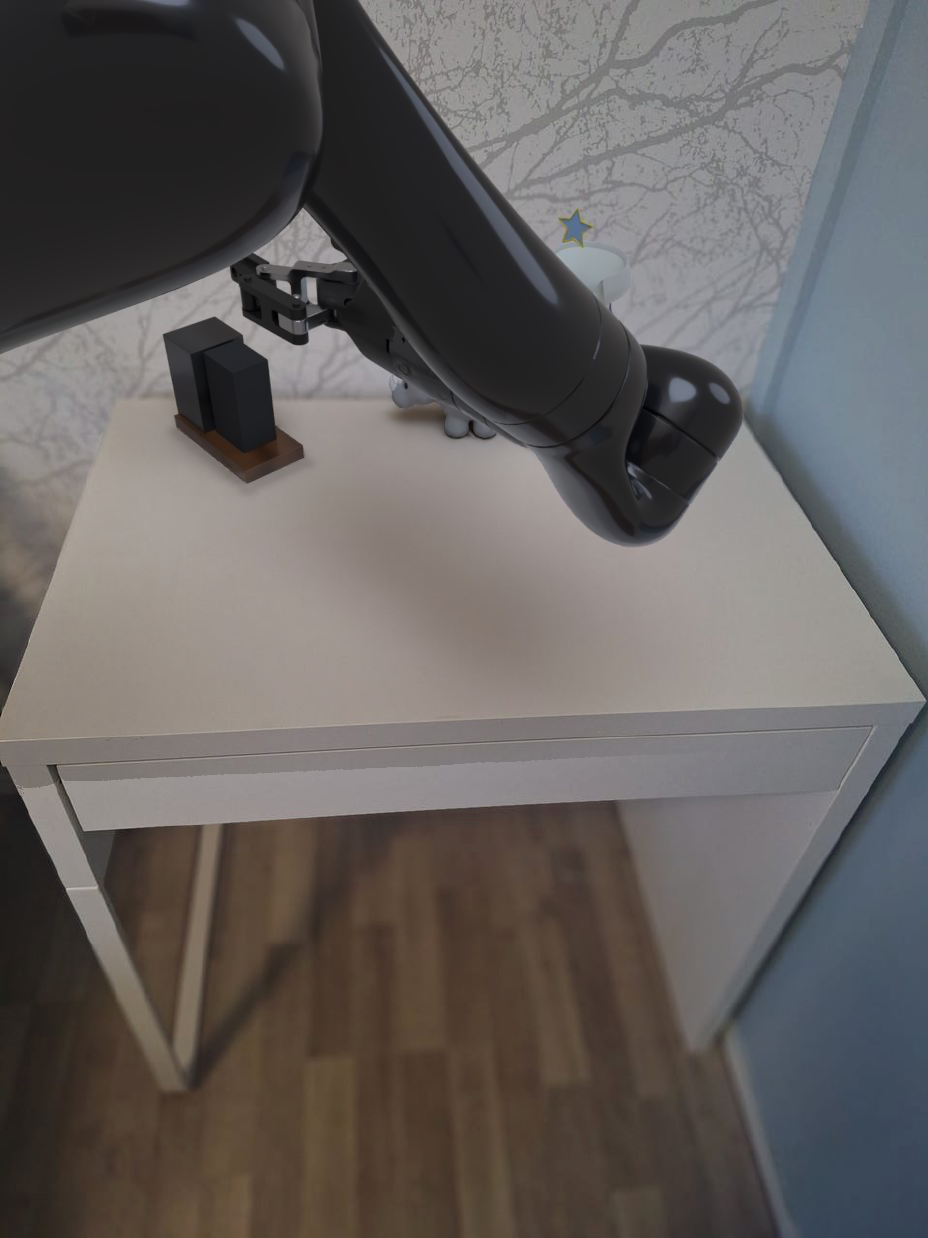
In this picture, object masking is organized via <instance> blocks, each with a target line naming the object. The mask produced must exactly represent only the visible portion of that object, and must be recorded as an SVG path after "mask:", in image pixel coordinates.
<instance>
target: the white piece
mask: <svg viewBox="0 0 928 1238" xmlns="http://www.w3.org/2000/svg"><path fill="white" fill-rule="evenodd" d="M557 219H558V221H559V222H560V224H561V225H562V226H563V228H564V229H565V232H564V234H563V237H562V241H561V243H560V244H558V245H556V246H555V248H553V249H552V251H553V252H554V253H555V254H556V255H557V256H558V257H559V258H560V259H561V261H562V262H563V263H564V264H565V265H566V266H567V267H568V268H569V269H570V270H571V271H572V272H573V273H574V274H575V275H576V276H577V277H578V278H579V279H580V280H581V281H582V282H583V283H584V284H585V285H586V286H587V287H588V288H589V290H590V291H591V292H592V293H593V294H594V295H595V296H596V297H597V298H598V299H599V300H600V301H601V302H602V303H603V304H604V305H605V306H606V307H607V308H608V309H609V310H610V311H611V312H612V313H613V310H612V303H614V302H616V301H617V300H619V299H621V298H622V297H624V296H625V295H626V294H627V293H628V292H629V290H630V289H631V286H632V284H633V272H632V268H631V265H630V262H629V258H628V256H627V254H626V253H625V252H624V250H622V249H620V248H619V247H617V246H614V245H611V244H609V243H606V242H601V241H595V240H584V234H585V233H587V232H588V231H589V230H592V229H593V228H594V227H595V226H594V225H593V224H592V223H591V224H590V223H588V222H586V221H584V220H582V216H581V212H580V207H577V208H576V209H575V211H574V212H573V213H572V215H571V216H570V217H564V216H562V217H561V216H560V217H558V218H557Z"/></svg>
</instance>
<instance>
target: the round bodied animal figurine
mask: <svg viewBox="0 0 928 1238" xmlns="http://www.w3.org/2000/svg"><path fill="white" fill-rule="evenodd" d="M388 387H389V389H390V391H391V398H392V399H391V400H392V401H393V403H394V405H396V406H397V407H398V408H400V409H403V410H407V409H411V408H412V407H414V406H415V405H417V406H418V405H420V406H429V405H430V404H433V403H437V404H439V406H440V407H441V409H442V410H443V411H444V414H445V416H446V417H445V420H444V432H445V433H446V434H447V435H448V436H450V437H452V438H462V437H464V436H466V435H467V434H468V432H469V429H470V424H469V423H472V430H473V432H474V435H476V436H477V437H479V438H484V439H486V438H490V437H493V436H494V435H496V433H495V432H494V431H492V430H490V429H489V428H487V427H486V426H484V425H482V424H481V423H479V422H477V421H476V420H474V419H472V418H471V417H469V416H468V415H466V414H464V413H463V412H461V411H459V410H457V409H455V408H452V407H450V406H447V405H445V404H442V403H440V402H438V401H436V400H434V399H432V398H431V397H429V396H427V395H426V394H424V393H422V392H421V391H419V390H418V389H416V388H414V387H413V386H411V385H409V384H408V383H406V382H405V381H403V380H401V379H397V382H396V381H395V379H394V375H393V374H391V376H390V378H389V380H388Z"/></svg>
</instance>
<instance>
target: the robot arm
mask: <svg viewBox="0 0 928 1238" xmlns="http://www.w3.org/2000/svg"><path fill="white" fill-rule="evenodd" d="M302 210H305V211H306V212H307V214H309V216H310V217H311V218H312V219H313V220H314V221H315V222H316V223H317V224H318V226H319V227H320V228H321V229H322V230H323V231H324V232H325V234H327V236H328V237H329V238H330V239H329V240H330V245H331V246H332V248H333V249H334V250H336V251H338V252H340V253H342V254H343V255H344V256H345V259H344V260H342V261H337V262H334V263H326V262H325V263H323V262H315V261H308V260H296V261H295V262H294V263H293V265H292V266H289V265H287V266H286V265H279V264H272V263H271V264H270V261H269V260H266V259H265V258H263V257H261V256H259V255H258V254H256V253H255V252H257V251H258V250H259V249H261V248H263V247H265V246H266V245H268V244H269V243H270V242H271V241H272V240H273V239H275V237H277V236H278V235H279V234H281V233H282V232H283V231H284V230H285V229H286V228H287V227H288V226H289V225H290V224H291V223H292V222H293V221H294V220H295V218H296V217H298V214H299V213H300V212H301V211H302ZM526 221H527V220H525V219H524V218H523V217H522V216H521V215H520V213H518V211H517V210H516V209H515V207H514V206H513V205H512V204H511V203H510V201H509V200H508V199H507V198H506V197H505V196H504V194H503V193H502V192H501V191H500V190H499V188H498V187H497V186H496V185H495V183H494V182H493V181H492V180H491V179H490V178H489V176H488V175H487V174H486V173H485V171H484V170H483V169H482V167H480V165H479V164H478V163H477V162H476V161H475V160H474V158H473V157H472V156H471V154H470V153H469V151H468V150H467V149H466V147H464V145H463V144H462V142H461V141H460V140H459V139H458V138H457V136H456V135H455V134H454V132H453V131H452V129H451V128H450V127H449V126H448V124H447V122H446V121H445V120H444V119H443V118H442V116H441V115H440V114H439V112H438V110H437V109H436V108H435V107H434V106H433V104H432V103H431V102H430V100H429V99H428V97H427V96H426V95H425V94H424V92H423V90H422V89H421V88H420V87H419V86H418V84H417V83H416V81H415V80H414V78H413V77H412V76H411V74H410V73H409V72H408V70H407V69H406V67H405V66H404V65H403V64H402V62H401V61H400V59H399V58H398V56H397V55H396V53H395V52H394V51H393V49H392V47H391V46H390V45H389V43H388V41H387V40H386V39H385V37H384V36H383V35H382V34H381V32H380V31H379V29H378V27H376V25H375V23H374V22H373V21H372V18H371V17H370V16H369V14H368V13H367V11H366V9H365V8H364V7H363V5H362V4H361V2H360V0H0V355H2V354H5V353H7V352H10V351H13V350H14V349H17V348H20V347H22V346H25V345H28V344H31V343H34V342H36V341H39V340H42V339H44V338H47V337H49V336H52V335H55V334H58V333H61V332H64V331H67V330H69V329H72V328H75V327H77V326H81V325H83V324H86V323H88V322H91V321H94V320H97V319H100V318H102V317H106V316H108V315H112V314H114V313H117V312H119V311H122V310H125V309H128V308H130V307H134V306H137V305H139V304H142V303H145V302H146V301H149V300H152V299H155V298H157V297H160V296H164V295H165V294H169V293H172V292H174V291H176V290H179V289H181V288H184V287H186V286H189V285H191V284H193V283H195V282H198V281H200V280H202V279H205V278H207V277H210V276H212V275H214V274H216V273H219V272H221V271H223V270H226V269H227V268H229V272H230V278H231V280H232V281H233V282H234V283H236V284H238V287H239V293H240V300H241V312H242V317H243V318H245V319H246V320H249V321H251V322H253V323H254V324H256V325H258V326H259V327H261V328H263V329H265V330H267V331H268V332H270V333H272V334H274V335H275V336H277V337H279V338H280V339H282V340H284V341H286V342H288V343H289V344H291V345H293V346H300V347H301V346H305V345H307V344H308V343H309V341H310V337H309V336H310V335H309V332H310V331H311V330H313V329H315V328H318V327H321V326H323V325H324V326H325V327H327V328H330V329H334V330H339V331H342V332H344V333H346V334H347V335H348V336H349V338H350V339H351V341H352V342H353V344H354V345H355V347H356V348H357V350H358V351H359V352H360V353H361V354H362V356H364V357H365V358H366V359H367V360H368V361H371V362H372V363H374V364H375V365H377V366H379V367H380V368H381V369H383V370H385V371H386V372H388V373H390V374H391V375H393V376H395V377H397V378H398V379H399V380H400V381H405V382H406V383H408V384H409V385H411V386H413V387H414V388H416V389H418V390H419V391H421V392H422V393H424V394H426V395H427V396H429V397H431V398H432V399H434V400H436V401H438V402H440V403H442V404H445V405H447V406H450V407H452V408H455V409H457V410H459V411H461V412H463V413H464V414H466V415H468V416H469V417H471V418H472V419H474V420H476V421H477V422H479V423H481V424H482V425H484V426H486V427H487V428H489V429H490V430H492V431H494V432H495V434H497V435H498V436H500V437H502V438H504V439H505V440H507V441H508V442H511V443H512V444H514V445H516V446H519V447H522V448H525V449H529V450H530V451H531V452H532V453H533V455H534V456H535V457H536V459H537V460H538V461H539V462H540V464H541V465H542V467H543V468H544V470H545V472H546V474H547V476H548V478H549V479H550V481H551V483H552V485H553V486H554V488H555V490H556V492H557V493H558V495H559V496H560V498H561V499H562V501H563V502H564V504H565V505H566V506H567V507H568V509H569V510H570V512H571V513H572V514H573V515H574V516H575V518H576V519H577V520H578V521H579V522H580V523H581V524H582V525H583V526H584V527H586V528H587V529H588V530H589V531H590V532H592V533H593V534H594V535H596V536H598V537H600V539H602V540H604V541H607V542H608V543H611V544H614V545H616V546H620V547H625V548H642V547H647V546H651V545H654V544H656V543H659V542H660V541H663V540H664V539H665V538H666V537H668V536H669V535H670V534H671V533H672V532H673V531H674V529H676V527H677V526H678V524H679V523H680V522H681V520H682V519H683V517H685V514H686V513H687V512H688V510H689V508H690V505H692V504H693V502H694V501H695V499H697V497H698V495H699V493H700V492H701V491H702V489H703V487H704V486H705V484H706V483H707V481H708V480H709V478H710V477H711V475H712V473H713V472H714V471H715V469H716V467H717V466H718V464H719V462H721V460H722V459H723V457H724V456H725V454H726V453H727V451H728V450H729V448H730V447H731V445H732V444H733V442H734V441H735V440H736V438H737V436H738V434H739V432H740V430H741V428H742V425H743V422H744V418H745V417H744V416H745V413H744V404H743V400H742V397H741V394H740V392H739V390H738V388H737V386H736V385H735V384H734V382H733V381H732V379H731V378H730V376H728V375H727V374H726V372H725V371H723V370H722V369H721V368H720V367H718V366H717V365H716V364H714V363H712V362H711V361H709V360H707V359H705V358H703V357H701V356H698V355H696V354H693V353H690V352H687V351H683V350H680V349H675V348H670V347H665V346H658V345H653V344H643V343H639V341H638V340H637V338H636V337H635V335H634V334H633V333H632V332H631V331H630V330H629V328H628V327H627V326H625V325H624V323H623V322H622V321H621V320H620V319H619V318H617V316H616V315H615V314H614V313H613V311H612V312H611V311H610V310H609V309H608V308H607V307H606V306H605V305H604V304H603V303H602V302H601V301H600V300H599V299H598V298H597V297H596V296H595V295H594V294H593V293H592V292H591V291H590V290H589V288H588V287H587V286H586V285H585V284H584V283H583V282H582V281H581V280H580V279H579V278H578V277H577V276H576V275H575V274H574V273H573V272H572V271H571V270H570V269H569V268H568V267H567V266H566V265H565V264H564V263H563V262H562V261H561V259H560V258H559V257H558V256H557V255H556V254H555V253H554V252H553V249H551V247H549V246H548V244H547V243H546V242H545V241H544V240H543V239H542V238H541V237H540V236H539V235H538V234H537V233H536V231H535V230H534V229H533V228H532V227H531V226H530V225H529V224H528V222H526ZM307 278H310V279H315V289H316V303H317V304H316V303H312V301H310V299H309V296H308V284H307ZM277 281H279V282H286V283H288V284H289V285H290V293H288V292H286V291H284V290H283V289H280V288H279V287H278V284H277Z"/></svg>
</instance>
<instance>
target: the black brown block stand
mask: <svg viewBox="0 0 928 1238" xmlns="http://www.w3.org/2000/svg"><path fill="white" fill-rule="evenodd" d="M162 338H163V345H164V348H165V355H166V359H167V364H168V369H169V375H170V379H171V383H172V389H173V394H174V399H175V404H176V409H177V413H176V414H174V415H173V416H174V417H173V418H174V422H175V426H176V428H177V429H178V430H179V431H181V432H182V433H183V434H185V435H186V436H187V437H188V438H189V439H191V440H192V441H193V442H195V443H196V444H197V445H198V446H200V447H201V448H202V449H203V450H204V451H205V452H207V453H208V454H210V455H211V456H212V457H213V458H215V459H216V460H217V461H218V462H220V463H221V464H222V465H223V466H225V468H227V469H228V470H230V471H231V472H232V473H233V474H234V475H236V476H237V477H238V478H240V479H241V480H242V481H243V482H244V483H246V484H249V483H251V482H253V481H255V480H258V479H259V478H262V477H264V476H266V475H268V474H271V473H273V472H276V471H277V470H279V469H282V468H283V467H286V466H288V465H291V464H292V463H294V462H297V461H298V460H302V459H303V458H304V457H305V453H304V445H303V444H302V443H301V442H299V441H298V440H296V439H295V438H294V437H292V436H291V435H290V434H288V433H286V432H285V431H284V430H283V429H281V428H280V427H279V426H277V425H276V424H275V427H276V436H277V439H276V440H274V441H271V442H269V443H267V444H264V445H262V446H260V447H258V448H255V449H253V450H251V451H248V452H246V453H243V452H242V451H240V450H239V449H238V448H237V447H235V446H234V445H233V444H231V443H230V442H229V441H228V440H226V439H225V438H224V437H222V436H221V435H220V434H218V433H217V432H216V426H215V420H214V414H213V408H212V402H211V396H210V390H209V384H208V378H207V373H206V367H205V361H204V355H203V352H205V351H208V350H211V349H214V348H216V347H219V346H222V345H225V344H227V343H230V342H233V341H236V340H240V341H241V342H242V343H244V344H245V339H244V334H243V333H241V332H240V331H238V330H236V329H235V328H233V327H232V326H230V325H229V324H227V323H226V322H225V321H223V320H221V319H220V318H219V317H217V316H211V317H208V318H206V319H203V320H200V321H197V322H194V323H191V324H188V325H185V326H182V327H180V328H177V329H174V330H170V331H168V332H165V333H163V334H162Z"/></svg>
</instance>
